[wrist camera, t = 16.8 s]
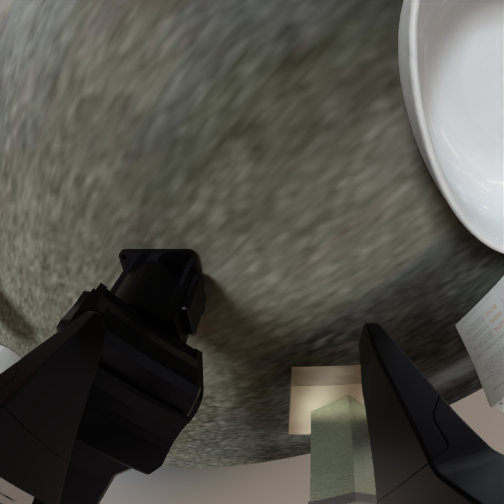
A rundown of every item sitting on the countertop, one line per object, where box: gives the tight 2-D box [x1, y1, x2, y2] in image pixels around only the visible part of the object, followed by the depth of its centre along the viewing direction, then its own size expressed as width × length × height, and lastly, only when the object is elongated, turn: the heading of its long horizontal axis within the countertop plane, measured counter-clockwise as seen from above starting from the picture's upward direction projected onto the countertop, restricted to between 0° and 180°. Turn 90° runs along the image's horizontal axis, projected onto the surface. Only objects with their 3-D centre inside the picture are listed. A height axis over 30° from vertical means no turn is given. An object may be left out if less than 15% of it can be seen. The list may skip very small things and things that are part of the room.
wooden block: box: [289, 365, 364, 434], centre depth 32 cm, size 12×12×3 cm
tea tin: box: [308, 395, 377, 504], centre depth 26 cm, size 5×5×12 cm
